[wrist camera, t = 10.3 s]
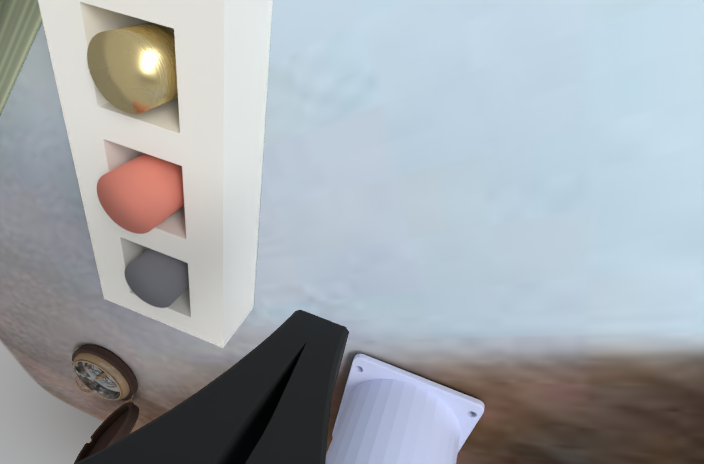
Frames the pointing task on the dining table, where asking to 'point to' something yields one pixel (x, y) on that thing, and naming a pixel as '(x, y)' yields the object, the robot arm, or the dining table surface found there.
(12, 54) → the hardcover book
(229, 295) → the socket board
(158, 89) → the brass plug
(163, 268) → the gray plug
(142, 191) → the red plug
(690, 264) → the dining table surface
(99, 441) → the compass
